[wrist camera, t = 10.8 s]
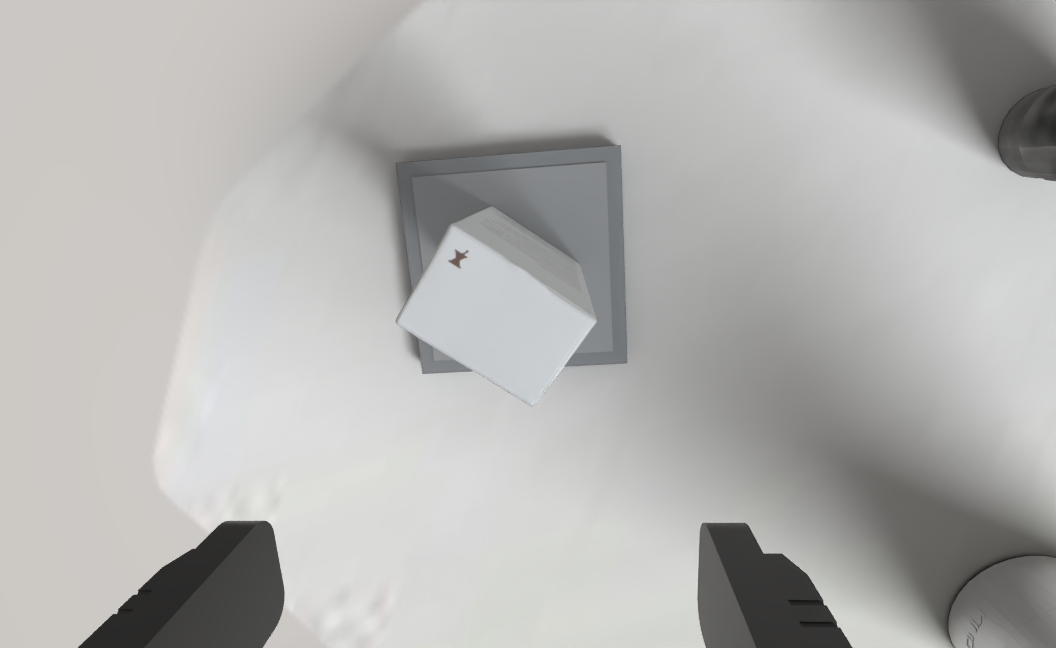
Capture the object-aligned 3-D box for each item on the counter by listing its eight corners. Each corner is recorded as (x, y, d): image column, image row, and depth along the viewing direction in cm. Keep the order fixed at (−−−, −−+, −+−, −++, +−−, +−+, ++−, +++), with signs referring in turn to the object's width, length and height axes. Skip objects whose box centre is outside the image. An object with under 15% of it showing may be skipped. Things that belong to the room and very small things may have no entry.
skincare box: (451, 269, 31) (387, 321, 19) (491, 203, 30) (449, 217, 18) (542, 327, 31) (533, 413, 20) (585, 265, 30) (602, 316, 19)
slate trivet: (618, 146, 30) (620, 145, 28) (624, 356, 33) (627, 363, 31) (401, 163, 31) (395, 162, 29) (427, 367, 34) (422, 374, 32)
